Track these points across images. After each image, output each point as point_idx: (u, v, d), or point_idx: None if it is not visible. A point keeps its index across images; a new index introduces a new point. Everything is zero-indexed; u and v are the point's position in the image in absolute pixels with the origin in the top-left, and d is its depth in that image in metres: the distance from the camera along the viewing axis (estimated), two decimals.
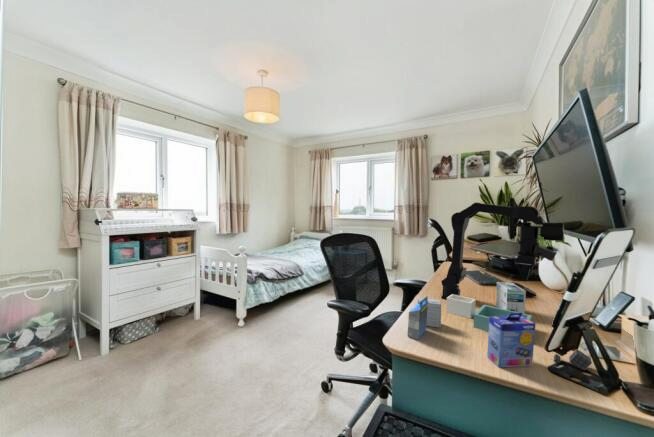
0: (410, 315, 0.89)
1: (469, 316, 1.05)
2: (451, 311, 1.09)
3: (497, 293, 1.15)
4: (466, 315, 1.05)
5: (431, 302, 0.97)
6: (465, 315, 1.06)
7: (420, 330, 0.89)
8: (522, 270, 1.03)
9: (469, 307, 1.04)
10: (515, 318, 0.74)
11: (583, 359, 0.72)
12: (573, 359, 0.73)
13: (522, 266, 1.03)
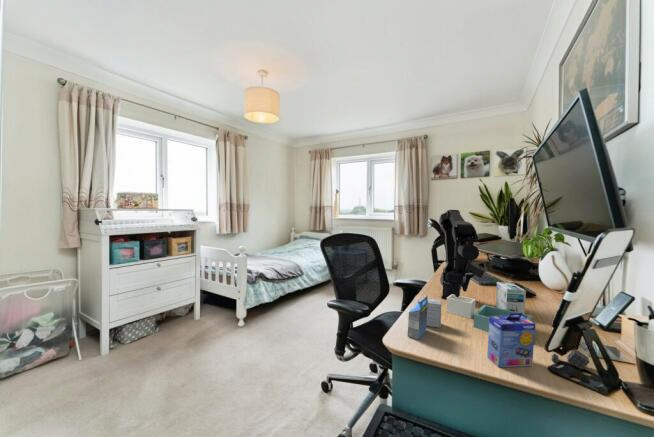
0: (410, 315, 0.89)
1: (469, 316, 1.05)
2: (451, 311, 1.09)
3: (497, 293, 1.15)
4: (466, 315, 1.05)
5: (431, 302, 0.97)
6: (465, 315, 1.06)
7: (420, 330, 0.89)
8: (454, 287, 1.05)
9: (469, 307, 1.04)
10: (515, 318, 0.74)
11: (581, 358, 0.72)
12: (571, 358, 0.73)
13: (454, 282, 1.05)
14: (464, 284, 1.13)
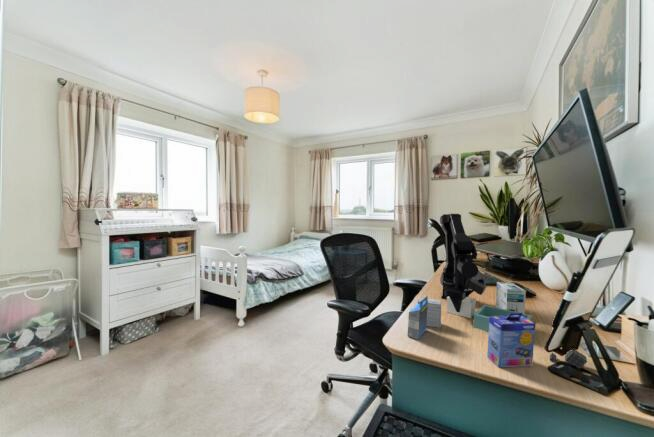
0: (410, 315, 0.89)
1: (469, 316, 1.05)
2: (451, 311, 1.09)
3: (497, 293, 1.15)
4: (466, 315, 1.05)
5: (431, 302, 0.97)
6: (465, 315, 1.06)
7: (420, 330, 0.89)
8: (454, 302, 1.07)
9: (469, 307, 1.04)
10: (515, 318, 0.74)
11: (578, 358, 0.72)
12: (569, 358, 0.73)
13: (455, 298, 1.07)
14: None
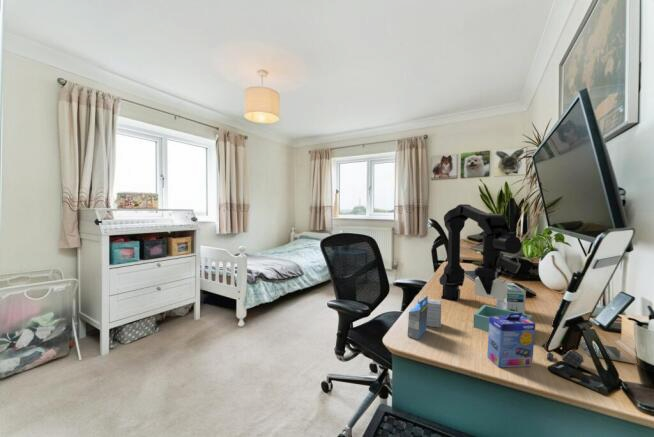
0: (410, 315, 0.89)
1: (502, 298, 0.94)
2: (480, 293, 0.99)
3: None
4: (498, 297, 0.95)
5: (431, 302, 0.97)
6: (497, 297, 0.95)
7: (420, 330, 0.89)
8: (484, 283, 0.96)
9: (501, 287, 0.94)
10: (515, 318, 0.74)
11: (575, 357, 0.73)
12: (565, 357, 0.74)
13: (485, 278, 0.96)
14: None
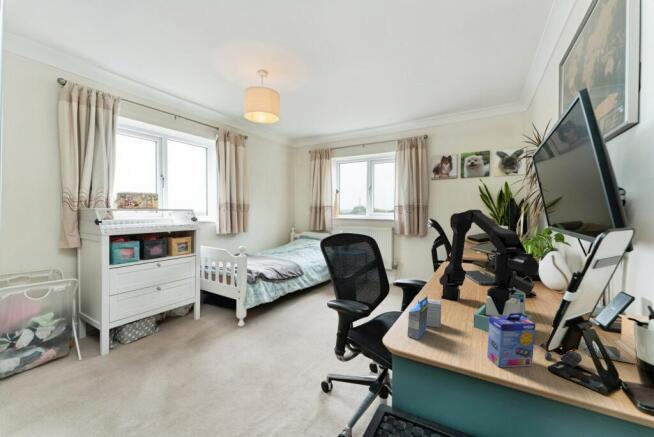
0: (410, 315, 0.89)
1: None
2: (492, 313, 0.96)
3: None
4: None
5: (431, 302, 0.97)
6: None
7: (420, 330, 0.89)
8: (497, 303, 0.93)
9: (515, 308, 0.91)
10: (515, 318, 0.74)
11: (573, 356, 0.73)
12: (564, 356, 0.74)
13: (497, 298, 0.93)
14: None
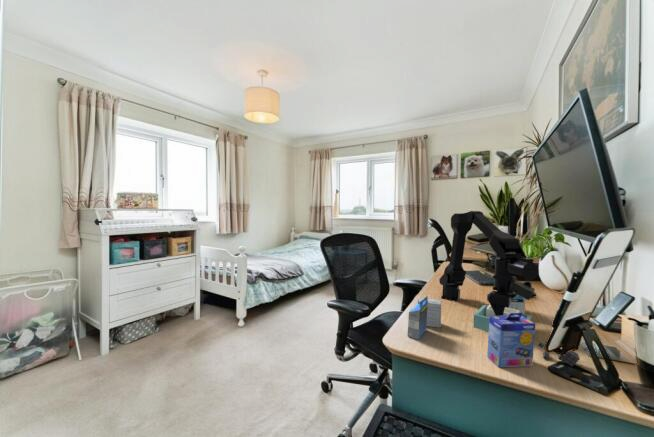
0: (410, 315, 0.89)
1: None
2: None
3: None
4: None
5: (431, 302, 0.97)
6: None
7: (420, 330, 0.89)
8: (496, 309, 0.92)
9: None
10: (515, 318, 0.74)
11: (571, 356, 0.73)
12: (562, 356, 0.75)
13: (496, 304, 0.92)
14: None
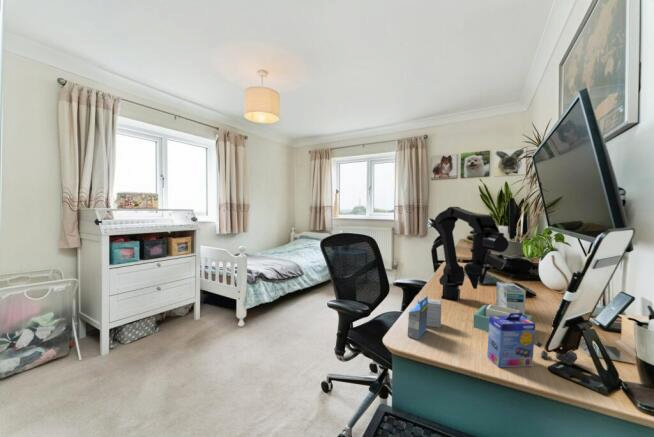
0: (410, 315, 0.89)
1: None
2: None
3: (497, 293, 1.15)
4: None
5: (431, 302, 0.97)
6: None
7: (420, 330, 0.89)
8: (472, 278, 1.04)
9: None
10: (515, 318, 0.74)
11: (569, 355, 0.74)
12: (560, 355, 0.75)
13: (472, 274, 1.04)
14: (481, 276, 1.12)
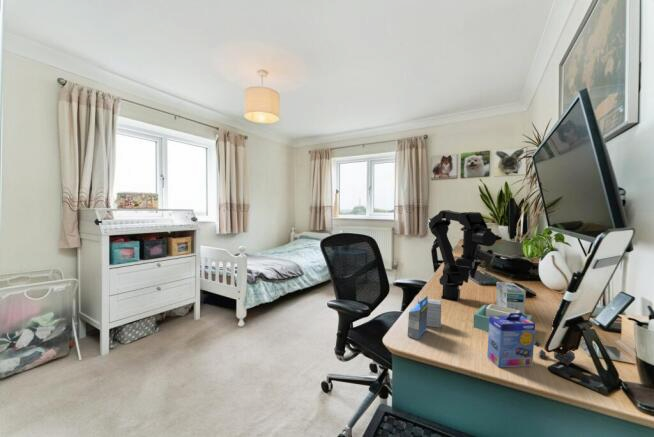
0: (410, 315, 0.89)
1: None
2: None
3: (497, 293, 1.15)
4: None
5: (431, 302, 0.97)
6: None
7: (420, 330, 0.89)
8: (463, 272, 1.10)
9: None
10: (515, 318, 0.74)
11: (567, 354, 0.74)
12: (557, 354, 0.75)
13: (463, 268, 1.09)
14: (472, 271, 1.17)
